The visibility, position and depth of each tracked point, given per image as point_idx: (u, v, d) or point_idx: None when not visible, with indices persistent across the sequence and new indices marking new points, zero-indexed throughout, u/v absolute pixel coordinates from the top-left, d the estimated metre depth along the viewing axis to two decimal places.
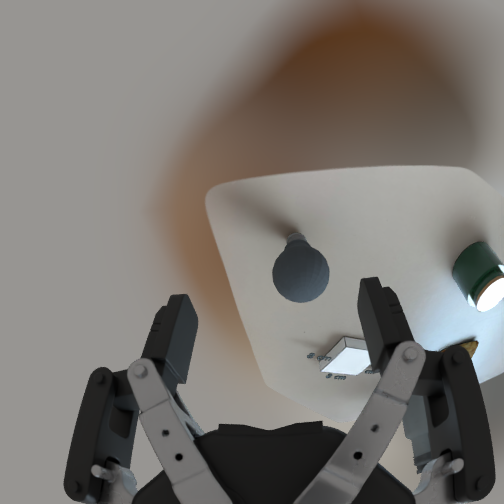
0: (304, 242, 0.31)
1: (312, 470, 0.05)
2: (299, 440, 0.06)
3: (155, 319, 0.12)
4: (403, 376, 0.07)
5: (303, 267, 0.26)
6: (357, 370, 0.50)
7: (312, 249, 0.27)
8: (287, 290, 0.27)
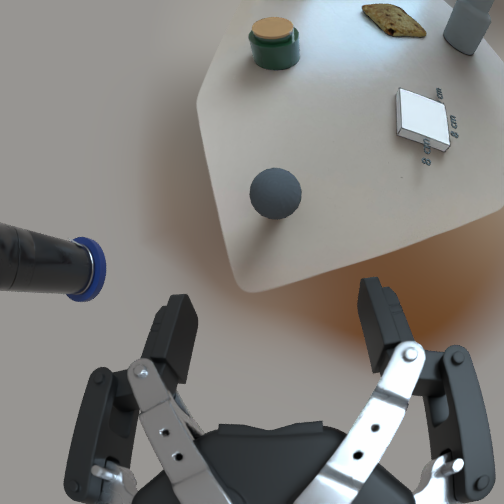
0: None
1: (312, 470, 0.05)
2: (299, 440, 0.06)
3: (155, 319, 0.12)
4: (403, 376, 0.07)
5: (253, 192, 0.30)
6: (436, 106, 0.34)
7: None
8: (274, 199, 0.29)
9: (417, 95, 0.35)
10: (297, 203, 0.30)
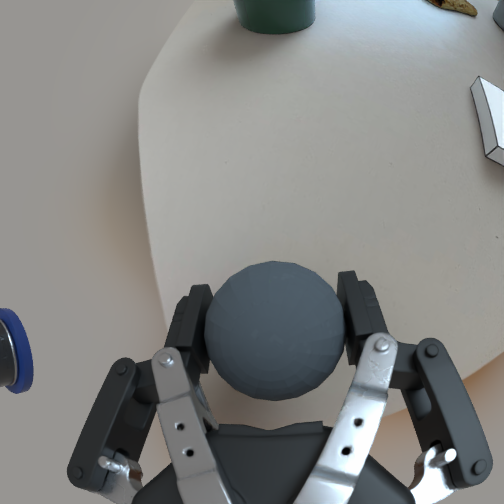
0: None
1: (312, 470, 0.05)
2: (299, 440, 0.06)
3: (176, 309, 0.12)
4: (378, 367, 0.07)
5: (209, 346, 0.10)
6: None
7: None
8: (272, 386, 0.09)
9: (502, 92, 0.15)
10: (334, 368, 0.10)
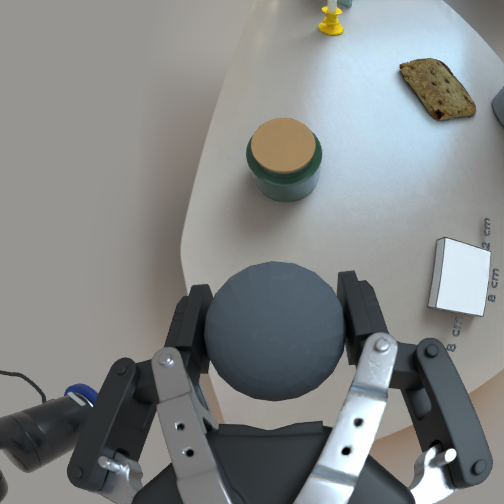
0: None
1: (312, 470, 0.05)
2: (299, 440, 0.06)
3: (176, 309, 0.12)
4: (377, 367, 0.07)
5: (209, 347, 0.10)
6: (481, 258, 0.28)
7: None
8: (272, 386, 0.09)
9: (463, 245, 0.29)
10: (334, 368, 0.10)
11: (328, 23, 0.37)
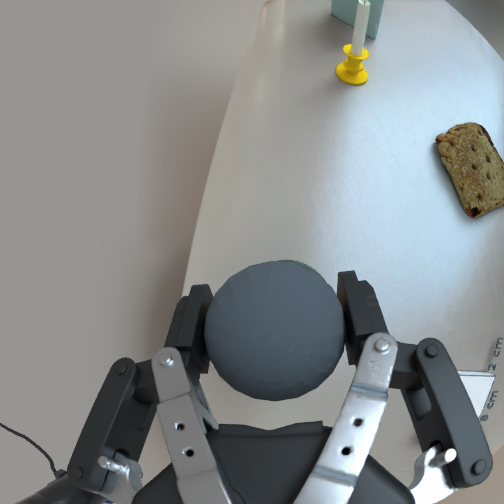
0: None
1: (312, 470, 0.05)
2: (299, 440, 0.06)
3: (176, 309, 0.12)
4: (378, 368, 0.07)
5: (209, 346, 0.10)
6: (483, 385, 0.23)
7: None
8: (272, 386, 0.09)
9: (468, 378, 0.24)
10: (334, 368, 0.10)
11: (350, 68, 0.32)
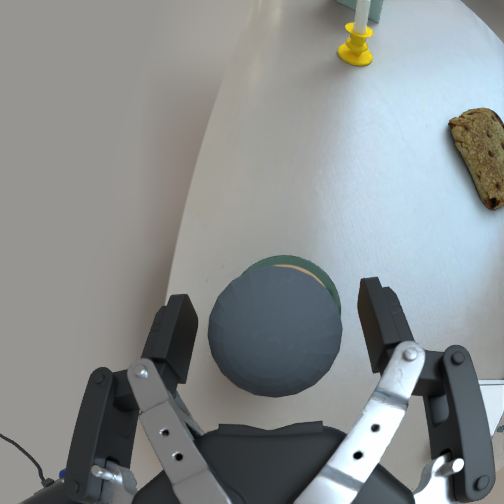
0: None
1: (311, 470, 0.05)
2: (299, 440, 0.06)
3: (155, 319, 0.12)
4: (403, 376, 0.07)
5: (213, 346, 0.11)
6: (502, 394, 0.18)
7: None
8: (271, 383, 0.09)
9: (488, 388, 0.19)
10: (330, 366, 0.11)
11: (353, 48, 0.27)
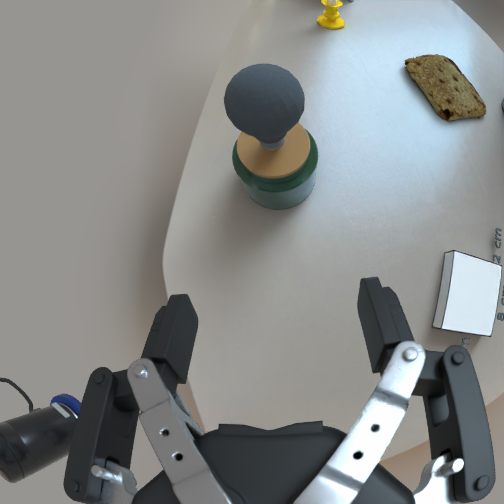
0: None
1: (312, 470, 0.05)
2: (299, 440, 0.06)
3: (155, 319, 0.12)
4: (403, 376, 0.07)
5: (228, 93, 0.17)
6: (492, 273, 0.24)
7: None
8: (261, 94, 0.16)
9: (473, 260, 0.25)
10: (298, 108, 0.17)
11: (328, 16, 0.33)
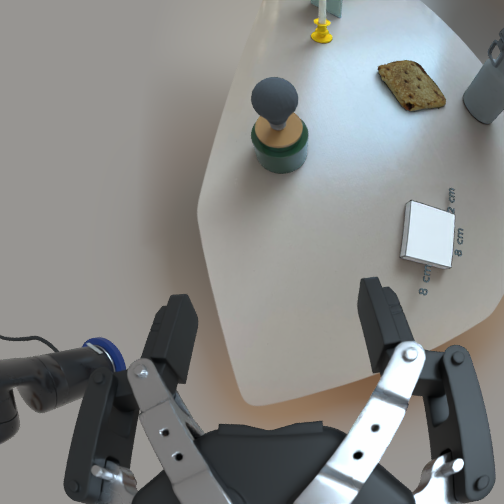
0: None
1: (312, 470, 0.05)
2: (299, 440, 0.06)
3: (155, 319, 0.12)
4: (403, 376, 0.07)
5: (254, 93, 0.30)
6: (445, 219, 0.37)
7: None
8: (274, 95, 0.28)
9: (428, 207, 0.38)
10: (294, 103, 0.30)
11: (319, 33, 0.46)
